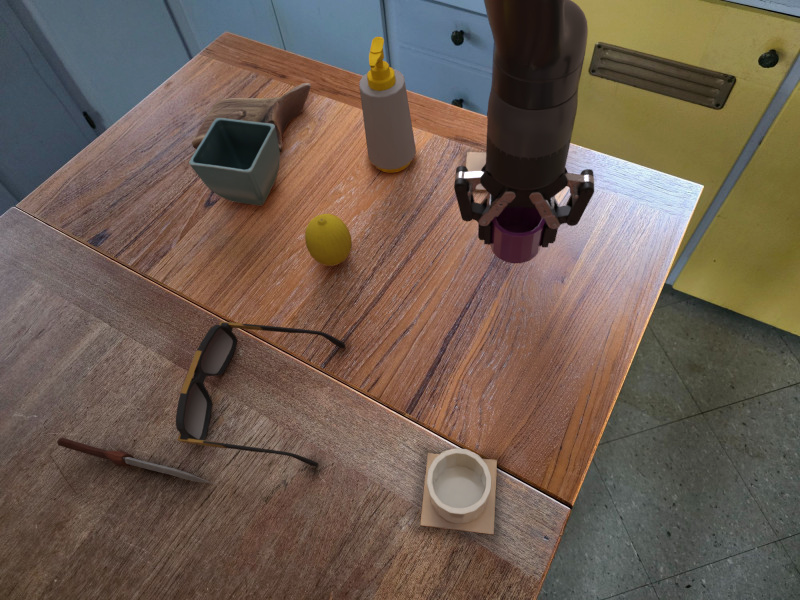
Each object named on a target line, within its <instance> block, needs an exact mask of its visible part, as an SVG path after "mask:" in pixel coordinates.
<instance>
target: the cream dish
mask: <svg viewBox="0 0 800 600" xmlns="http://www.w3.org/2000/svg"><path fill="white" fill-rule="evenodd" d="M439 454H440V455H438V456H437V457H436V458H435V459H434V460H433V462H432V464H431V465H430V467H429V469H428V473H427V488H428V492H429V496H430V500H431V503H432V506H433V507H434V509H435V511H436V512H437V513H438V514H439V515H440V516H441V517H442V518H444V519H445V520H447V521H449V522H452V523H457V524H463V523H469V522H471V521H473V520H475V519H477V518H478V517H479V516H480V515H481V514H482V513H483V512H484V510H485V508H486V506H487V504H488V502H489V497H490V492H491V480H492V478H491V474H490V471H489V469H488V466H487V464H486V463H485V462H484V461H483V460H482V459H483V458H482V457H481V456H480V455H479V454H477V453H475V452H474V451H472V450H470V449H467V448H459V447H454V448H451V449H450V448H449V449H447V450H443V451H442V452H441V453H439Z"/></svg>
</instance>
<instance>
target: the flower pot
mask: <svg viewBox="0 0 800 600" xmlns="http://www.w3.org/2000/svg"><path fill="white" fill-rule="evenodd" d="M188 164H189V166H190V167H191V168H192V170H193V171H194V172H195V174H196V175H197V176H198V177H199V179H200V180H201V181H202V182H203V184H204V185H205V186H206V187H207V188H208V189H209V190H210V191H211V192H212V193H214V195H217V196H219V197H221V198H223V199H224V200H227V201H230V202H234V203H239V204H245V205H252V206H264V204H265V203H266V201H267V199H268V197H269V195H270V192H271V190H272V188H273V186H274V184H275V182H276V180H277V177H278V173H279V170H280V164H281V153H280V151H279V145H278V140H277V134H276V129H275V125H274V124H269V123H261V122H252V121H243V120H235V119H227V118H216V119H215V120H214V121H213V123H212V125H211V126H210V128H209V130H208V132H207V133H206V135H205V137H204V138H203V140H202V142H201V143H200V145H199V146H198V148H197V149H195V151H194V152H193V154H192V156H191V158H190V159H189V162H188Z"/></svg>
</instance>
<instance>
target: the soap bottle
mask: <svg viewBox="0 0 800 600" xmlns="http://www.w3.org/2000/svg"><path fill="white" fill-rule="evenodd" d="M384 45H385V39H384V38H383V37H382V36H374V37H373V38H372V40H371V45H370V49H369V53H368V63H369V67H370V69H369V70H368V72H366V73H365V74H364V75H363V76H361V78H360V80H359V82H358V83H359V95H360V102H361V110H362V120H363V125H364V133H365V140H366V141H365V142H366V151H367V158H368V160H369V161H370V163H371V164H372V165H374V166H375V167H376V169H378V170H380V171H382V172H383V173H392V174H393V173H399V172H401V171H403V170H405V169H407V167H409V166H410V165H411V163H412V161H413V160H414V158H415V155H416V153H417V148H416V141H415V136H414V131H413V130H414V128H413V122H412V117H411V111H410V105H409V103H410V102H409V99H408V91H407V86H406V79H405V76H404V74H403V73H402V72H401V71H400V70H398V69H395V68H393V67H391V66H390V64H389V63H388V62H387V61H385V60H384V59H385V52H384Z"/></svg>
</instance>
